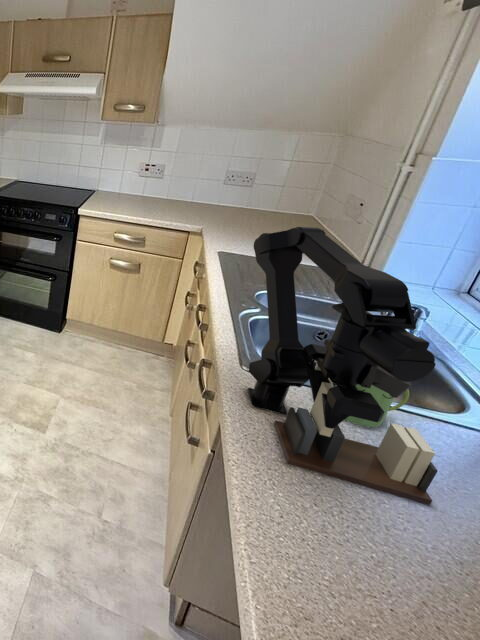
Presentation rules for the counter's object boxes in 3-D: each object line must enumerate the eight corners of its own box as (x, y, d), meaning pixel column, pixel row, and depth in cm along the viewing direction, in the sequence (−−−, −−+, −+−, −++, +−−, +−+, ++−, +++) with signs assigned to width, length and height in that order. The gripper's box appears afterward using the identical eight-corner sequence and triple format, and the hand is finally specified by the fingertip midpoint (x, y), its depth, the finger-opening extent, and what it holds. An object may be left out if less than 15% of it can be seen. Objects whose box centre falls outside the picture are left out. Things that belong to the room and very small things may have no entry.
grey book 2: (313, 437, 82) (323, 413, 79) (323, 440, 81) (333, 415, 79) (323, 459, 76) (334, 434, 74) (333, 462, 76) (345, 437, 74)
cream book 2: (375, 454, 78) (390, 422, 75) (386, 457, 77) (402, 425, 75) (390, 478, 73) (407, 446, 70) (401, 482, 72) (419, 449, 70)
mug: (329, 417, 88) (348, 371, 84) (316, 389, 97) (334, 346, 93) (407, 439, 83) (432, 391, 79) (386, 407, 92) (408, 362, 88)
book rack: (273, 424, 86) (282, 400, 84) (398, 457, 79) (411, 432, 77) (287, 463, 77) (297, 437, 75) (429, 505, 69) (445, 478, 67)
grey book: (288, 430, 83) (298, 406, 81) (298, 433, 82) (308, 409, 80) (297, 452, 78) (307, 427, 76) (307, 455, 77) (317, 430, 75)
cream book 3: (388, 457, 77) (405, 426, 75) (400, 460, 77) (416, 429, 74) (404, 483, 72) (422, 450, 69) (416, 486, 71) (435, 453, 69)
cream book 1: (309, 413, 80) (322, 381, 78) (319, 415, 80) (332, 384, 77) (319, 434, 75) (333, 401, 73) (330, 437, 75) (344, 403, 72)
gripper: (447, 389, 60) (404, 469, 66) (387, 330, 76) (357, 398, 82) (351, 369, 64) (318, 446, 70) (314, 317, 80) (290, 382, 86)
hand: (323, 416), depth 77 cm, fingers closed on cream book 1, 6 cm apart
